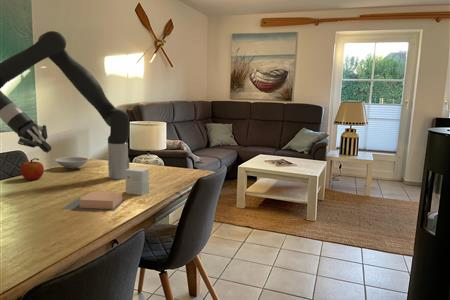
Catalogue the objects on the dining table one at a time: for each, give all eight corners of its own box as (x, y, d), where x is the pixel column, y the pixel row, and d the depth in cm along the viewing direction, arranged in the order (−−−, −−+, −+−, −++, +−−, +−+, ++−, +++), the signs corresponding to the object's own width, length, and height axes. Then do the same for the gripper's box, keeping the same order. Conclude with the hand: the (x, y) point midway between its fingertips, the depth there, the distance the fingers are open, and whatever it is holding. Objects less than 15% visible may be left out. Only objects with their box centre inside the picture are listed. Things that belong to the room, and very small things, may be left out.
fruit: (28, 176, 168) (27, 155, 167) (48, 176, 168) (47, 156, 166) (16, 181, 159) (15, 159, 157) (37, 181, 159) (35, 160, 157)
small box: (149, 193, 147) (149, 168, 145) (142, 196, 141) (142, 171, 140) (133, 190, 149) (132, 166, 147) (125, 194, 144) (125, 169, 142)
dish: (49, 171, 180) (49, 161, 180) (62, 165, 195) (61, 156, 194) (83, 172, 180) (83, 162, 180) (93, 166, 195) (93, 157, 194)
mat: (62, 210, 122) (61, 208, 122) (78, 199, 135) (78, 197, 135) (114, 212, 122) (113, 210, 122) (125, 201, 135) (125, 199, 134)
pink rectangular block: (79, 199, 123) (112, 200, 123) (91, 191, 133) (122, 193, 133) (79, 208, 124) (113, 209, 123) (91, 199, 133) (122, 200, 133)
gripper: (2, 120, 125) (39, 154, 128) (32, 105, 136) (65, 137, 138) (-3, 131, 130) (32, 164, 132) (26, 116, 140) (58, 147, 143)
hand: (49, 150), depth 135 cm, fingers closed
